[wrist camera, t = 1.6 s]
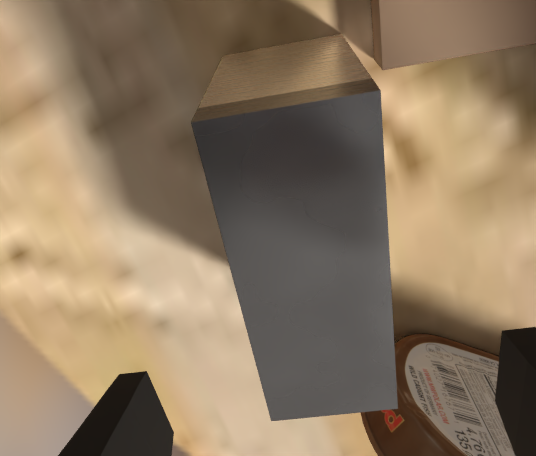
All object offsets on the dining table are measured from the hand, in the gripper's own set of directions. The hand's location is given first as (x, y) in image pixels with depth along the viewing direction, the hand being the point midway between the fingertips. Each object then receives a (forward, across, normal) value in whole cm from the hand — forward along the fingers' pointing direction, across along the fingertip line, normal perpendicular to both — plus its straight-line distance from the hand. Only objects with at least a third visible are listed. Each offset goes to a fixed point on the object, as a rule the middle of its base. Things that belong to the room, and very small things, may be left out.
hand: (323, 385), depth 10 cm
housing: (+10, 0, 0) cm, 10 cm away
